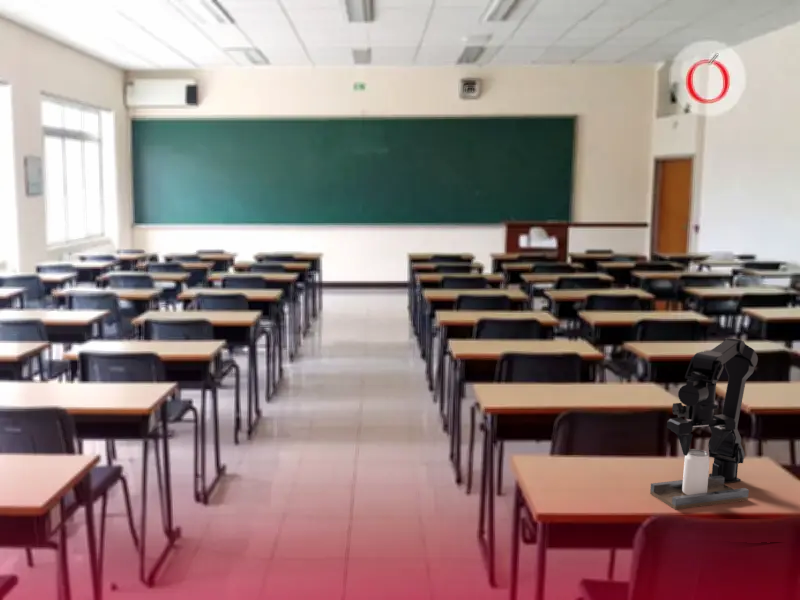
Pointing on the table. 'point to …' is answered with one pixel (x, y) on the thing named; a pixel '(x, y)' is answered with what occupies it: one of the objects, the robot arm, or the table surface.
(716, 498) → the track
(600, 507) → the table surface
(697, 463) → the can
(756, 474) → the table surface
